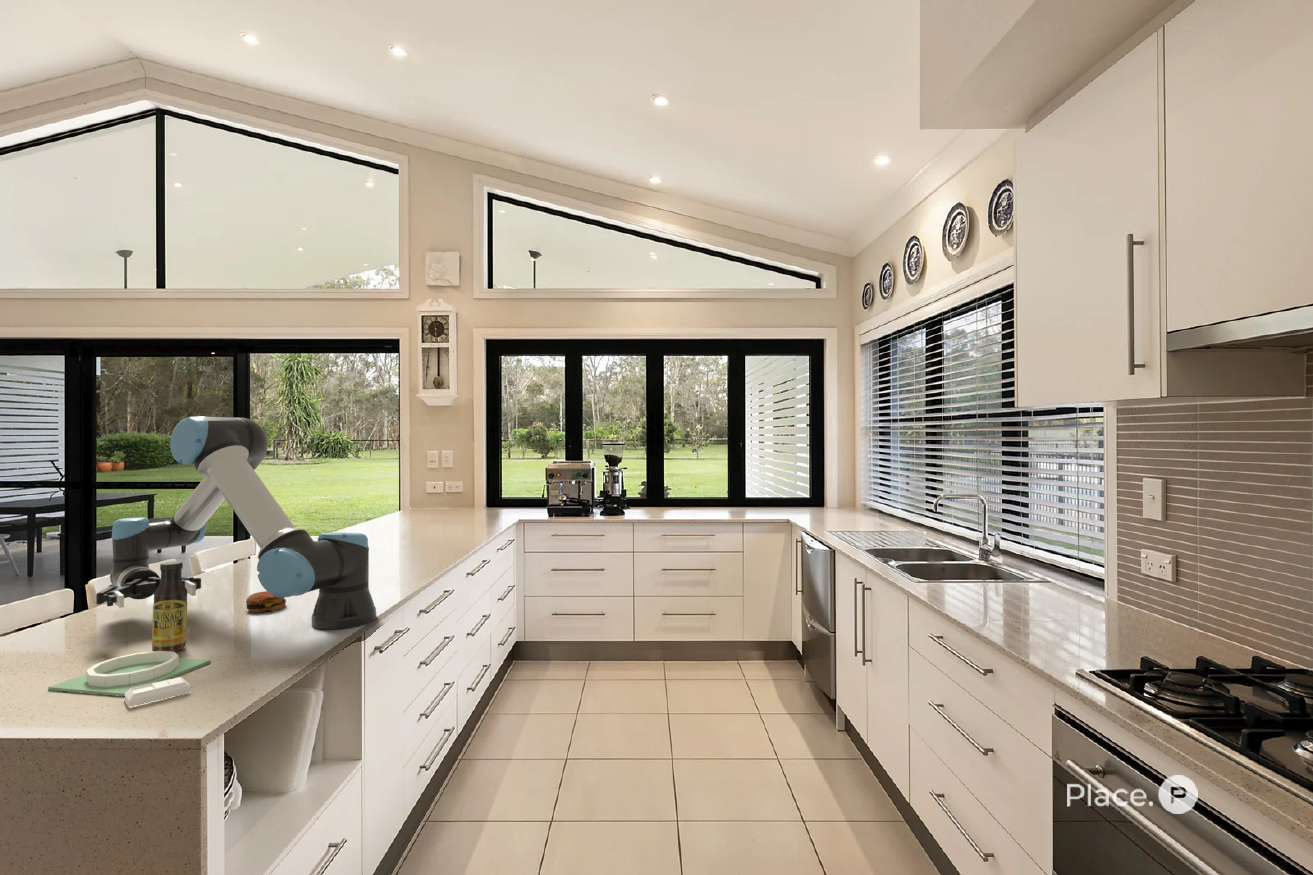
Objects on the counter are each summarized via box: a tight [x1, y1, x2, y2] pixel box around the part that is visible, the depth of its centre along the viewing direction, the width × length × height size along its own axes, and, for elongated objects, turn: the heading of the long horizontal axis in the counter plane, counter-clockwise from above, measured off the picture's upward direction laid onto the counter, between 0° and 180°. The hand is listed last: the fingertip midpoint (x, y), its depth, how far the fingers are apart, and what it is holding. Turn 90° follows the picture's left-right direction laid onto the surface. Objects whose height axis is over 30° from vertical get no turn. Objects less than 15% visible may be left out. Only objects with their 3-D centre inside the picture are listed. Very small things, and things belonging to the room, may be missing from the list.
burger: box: [245, 590, 287, 613], centre depth 178 cm, size 10×9×5 cm
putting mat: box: [47, 651, 212, 697], centre depth 129 cm, size 18×18×3 cm
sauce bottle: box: [151, 560, 188, 653], centre depth 144 cm, size 6×6×20 cm
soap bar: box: [124, 676, 192, 707], centre depth 118 cm, size 5×9×3 cm, turn 137°
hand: (159, 595), depth 150 cm, fingers open, 13 cm apart
